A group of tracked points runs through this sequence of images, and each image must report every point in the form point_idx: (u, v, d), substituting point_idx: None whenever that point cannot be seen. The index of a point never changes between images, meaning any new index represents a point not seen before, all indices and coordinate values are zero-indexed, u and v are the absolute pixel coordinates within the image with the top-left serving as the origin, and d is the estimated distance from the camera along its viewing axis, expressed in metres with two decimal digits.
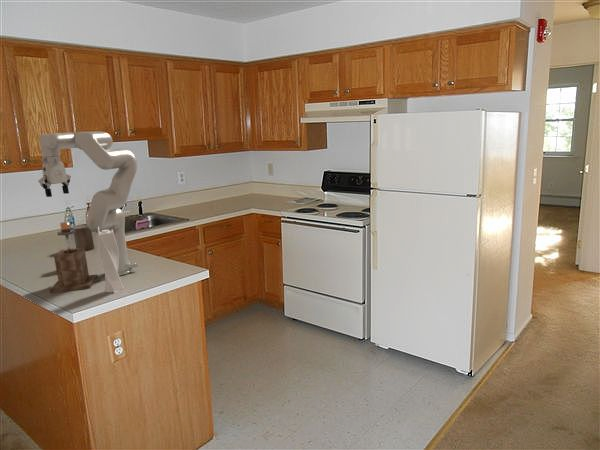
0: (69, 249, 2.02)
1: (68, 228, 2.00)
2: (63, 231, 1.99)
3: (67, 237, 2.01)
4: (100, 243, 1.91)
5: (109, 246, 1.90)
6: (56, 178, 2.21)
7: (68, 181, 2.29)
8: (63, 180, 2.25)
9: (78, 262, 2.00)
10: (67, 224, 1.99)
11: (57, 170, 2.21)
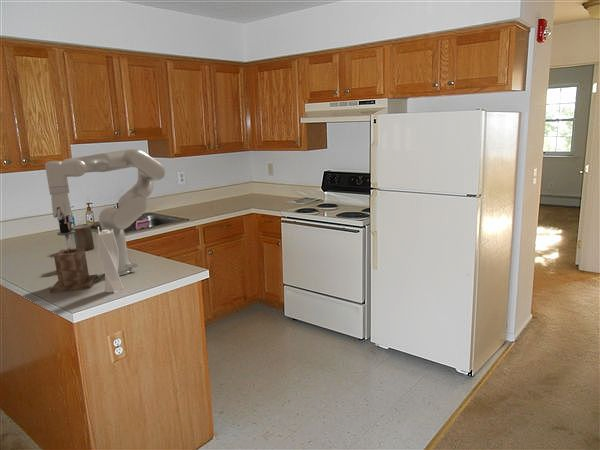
0: (69, 249, 2.02)
1: (68, 228, 2.00)
2: None
3: (67, 237, 2.01)
4: (100, 243, 1.91)
5: (109, 246, 1.90)
6: None
7: (59, 220, 1.96)
8: None
9: (78, 262, 2.00)
10: None
11: None
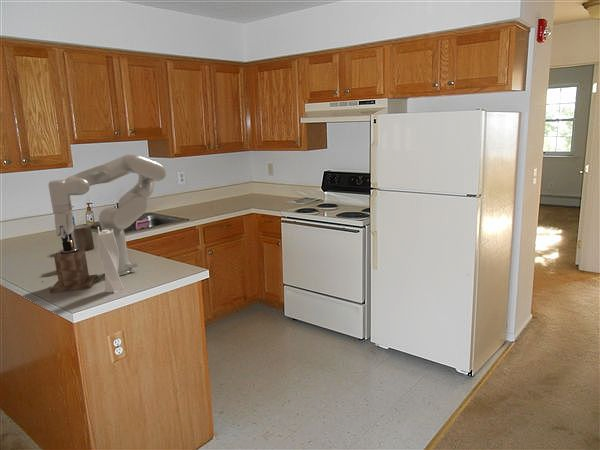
0: None
1: (71, 246, 2.02)
2: None
3: None
4: (100, 243, 1.91)
5: (109, 246, 1.90)
6: None
7: (62, 239, 1.97)
8: None
9: (78, 262, 2.00)
10: None
11: None
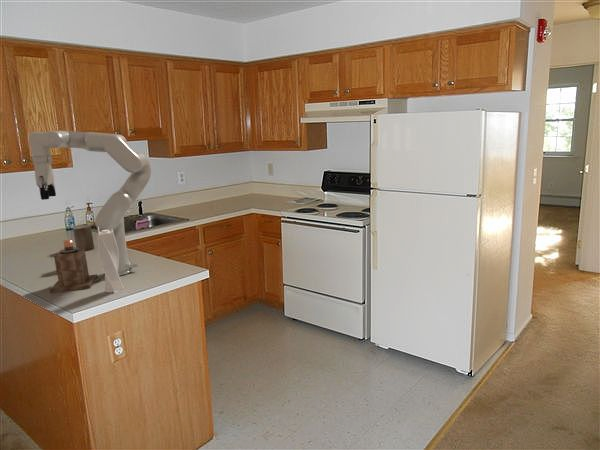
0: None
1: (71, 246, 2.01)
2: (66, 249, 2.01)
3: None
4: (100, 243, 1.91)
5: (109, 246, 1.90)
6: None
7: None
8: None
9: (78, 262, 2.00)
10: (70, 242, 2.01)
11: None
